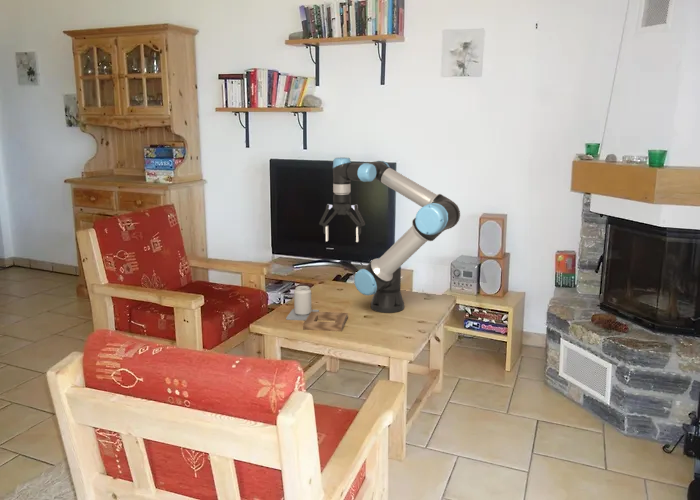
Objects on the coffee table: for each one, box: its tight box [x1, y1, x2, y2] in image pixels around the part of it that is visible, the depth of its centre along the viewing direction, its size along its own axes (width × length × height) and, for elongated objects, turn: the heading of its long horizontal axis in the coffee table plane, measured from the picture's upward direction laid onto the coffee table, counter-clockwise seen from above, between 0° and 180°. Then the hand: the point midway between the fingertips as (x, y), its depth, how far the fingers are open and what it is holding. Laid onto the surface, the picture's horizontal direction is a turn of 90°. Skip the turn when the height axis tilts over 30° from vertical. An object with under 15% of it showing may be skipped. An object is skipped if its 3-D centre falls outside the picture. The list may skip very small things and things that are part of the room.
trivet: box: [286, 308, 320, 321], centre depth 260 cm, size 12×12×1 cm
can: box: [293, 285, 313, 316], centre depth 259 cm, size 8×8×12 cm
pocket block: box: [302, 311, 349, 332], centre depth 250 cm, size 16×16×2 cm
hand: (342, 241), depth 262 cm, fingers open, 13 cm apart
